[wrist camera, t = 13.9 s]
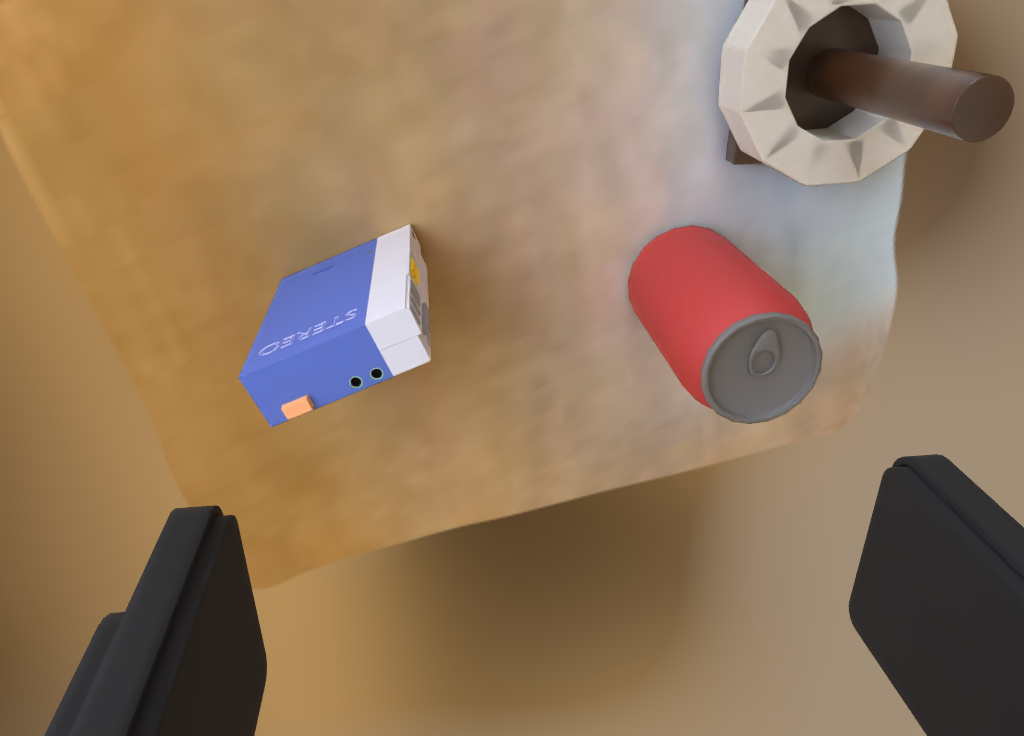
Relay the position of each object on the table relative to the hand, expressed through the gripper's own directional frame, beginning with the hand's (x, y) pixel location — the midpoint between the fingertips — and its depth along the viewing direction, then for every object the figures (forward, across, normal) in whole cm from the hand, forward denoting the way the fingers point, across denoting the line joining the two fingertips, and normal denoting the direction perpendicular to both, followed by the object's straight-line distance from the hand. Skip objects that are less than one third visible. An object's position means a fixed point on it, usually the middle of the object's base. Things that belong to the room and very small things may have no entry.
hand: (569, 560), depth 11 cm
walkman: (+32, +6, +7) cm, 34 cm away
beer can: (+32, -13, +8) cm, 36 cm away
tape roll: (+31, -18, -3) cm, 36 cm away
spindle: (+32, -19, -3) cm, 38 cm away
